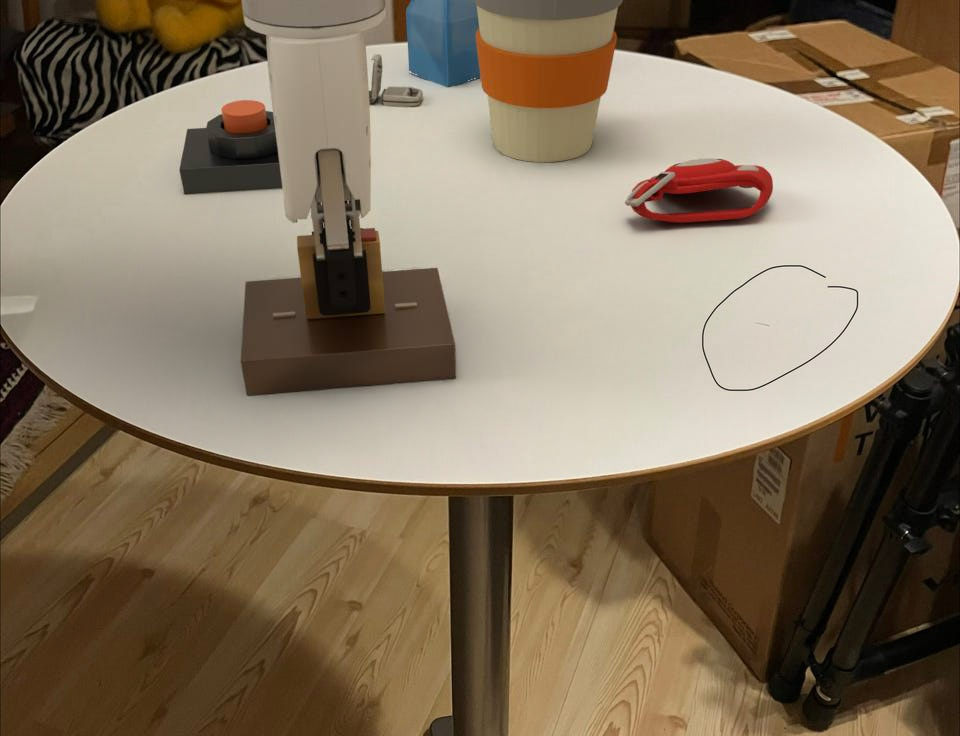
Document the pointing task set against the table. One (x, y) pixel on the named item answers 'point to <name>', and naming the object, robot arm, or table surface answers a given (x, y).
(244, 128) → the bell button
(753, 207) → the tracker holder
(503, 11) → the reusable coffee cup
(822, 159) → the table surface
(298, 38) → the robot arm
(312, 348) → the plate
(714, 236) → the table surface
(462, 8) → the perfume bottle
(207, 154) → the dark grey button base
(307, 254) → the thumb turn
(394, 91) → the strap clip
